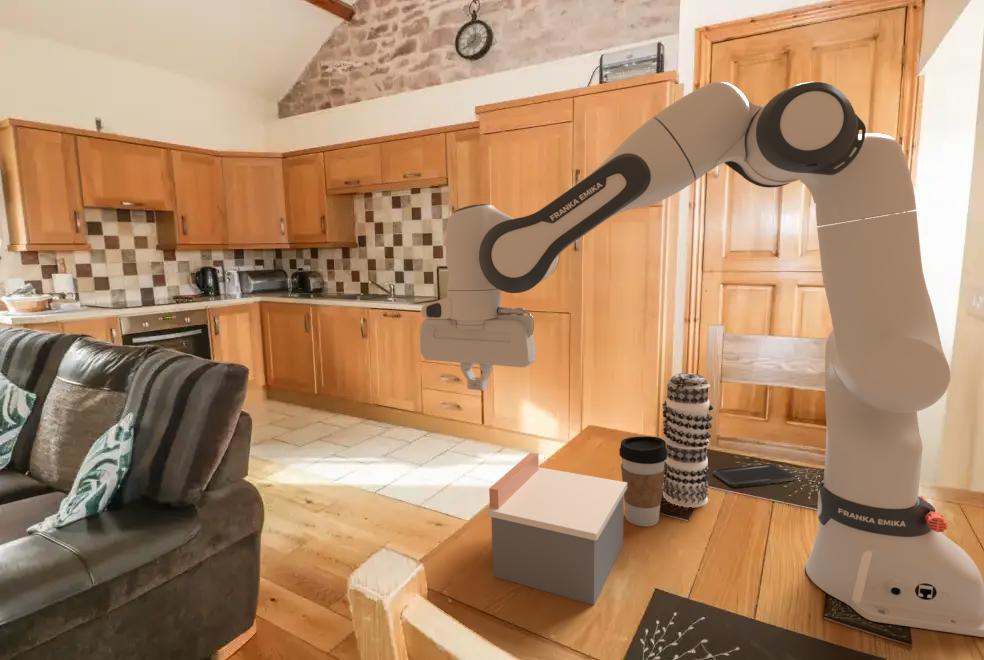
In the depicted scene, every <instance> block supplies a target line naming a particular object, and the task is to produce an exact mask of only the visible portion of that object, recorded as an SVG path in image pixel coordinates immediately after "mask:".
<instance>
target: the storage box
mask: <svg viewBox="0 0 984 660" xmlns="http://www.w3.org/2000/svg"><path fill="white" fill-rule="evenodd" d="M490 518H491V544H492V547H491V550H492V575H493V576H492V577H493V578H498V579H500V580H505V581H507V582H508V581H509V582H511V583H514V584H519V585H523V586H524V587H525V586H526V587H528V588H532V589H537V590H540V591H543V592H546V593H550V594H554V595H558V596H560V597H565V598H568V599H571V600H575V601H579V602H581V603H584V604H585V603H586V604H589V605H593V606H595V604H596V602H597V600H598V598H599V596H600V594H601V592H602V590H603V588H604V586H605V584H606V581H607V579H608V577H609V575H610V573H611V571H612V569H613V567H614V565H615V563H616V561H617V558H618V557H619V555H620V553H621V550H622V548H623V547H624V495H623V496H622V498H621V500H620V502H619V503H618V505H617V507H616V508H615V510H614V512H613V514H612V515H611V517H610V519H609V520H608V522H607V524H606V526H605V527H604V529H603V531H602V532H601V534H600V536H599V538H598V539H597V541H595V540H591V539H586V538H582V537H577V536H573V535H569V534H564V533H560V532H555V531H551V530H547V529H542V528H538V527H533V526H529V525H525V524H520V523H516V522H511V521H507V520H503V519H498V518H494V517H490Z"/></svg>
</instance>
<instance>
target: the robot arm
mask: <svg viewBox="0 0 984 660" xmlns="http://www.w3.org/2000/svg"><path fill="white" fill-rule="evenodd" d="M860 131H861V134H860ZM722 164H725V166H728V167H729V168H730V169H732V170H733V171H735V172H736V173H737V174H739V175H740V176H741V177H742V178H743V179H745V180H746V181H748V182H749V183H751V184H753V185H755V186H757V187H760V188H761V187H762V188H771V189H773V188H779V187H784V186H786V185H789V184H792V183H794V182H797V181H800V183H802V184H804V185H805V187H806V188H807V189H808V191H809V192H810V194H811V196H812V199H813V203H814V204H815V218H816V219H815V220H816V226H817V227H816V232H817V238H818V239H817V240H818V246H819V255H820V256H819V258H820V265H821V276H822V282H823V283H822V284H823V286H824V291H825V294H826V299H827V304H828V309H829V313H830V318H831V319H830V320H831V324H832V331H830V333H829V335H828V337H827V340H826V342H825V352H824V355H825V356H824V361H825V363H824V366H825V367H824V376H825V378H824V381H825V382H824V391H825V392H824V393H825V394H824V396H825V397H824V398H825V420H826V435H825V436H826V437H825V438H826V439H825V457H824V472H823V479H822V480H821V481H820V483H819V490H818V494H817V513H816V514H817V517H818V525H817V531H816V535H815V539H814V542H813V547H812V549H811V551H810V554H809V557H808V559H807V560H806V562H805V567H804V569H805V571H806V574H807V576H808V578H809V579H810V580H811V581H812V582H813V583H814V585H816V587H819V588H820V590H822V591H824V592H825V593H826V594H828V595H829V596H832V597H833V598H836V599H837V600H839V601H841V602H843V603H845V605H847V606H850V608H851V609H853V610H854V611H855V612H856V613H857V614H859V615H860V616H861V617H863V618H864V619H866V620H869V621H871V622H877V623H882V624H887V625H889V624H890V625H896V626H902V627H903V626H905V627H910V628H916V629H917V628H918V629H924V630H932V631H938V632H946V633H952V634H958V635H967V636H973V637H981V638H984V581H983V577H982V575H981V574H982V573H981V572H980V570H979V568H978V566H977V565H976V563H975V562H974V559H973V558H972V557H970V555H969V554H968V553H967V552H966V551H965V550H964V549H963V548H962V547H960V546H959V545H958V544H956V543H955V542H954V541H953V540H952V539H950V538H949V537H947V536H946V535H944V534H943V532H945V531H947V529H948V522H947V521H946V520H945V518H944V516H943V515H942V514H941V513H939V512H936V508H935V507H934V506H933V505H932V504H931V503H929V502H928V501H927V499H926V498H925V497H924V496H923V495H920V496H919V492H920V491H919V489H920V478H921V468H922V459H923V458H922V457H923V442H922V438H921V433H920V427H919V421H918V420H919V419H918V412H920V411H923V410H925V409H927V408H930V407H931V406H933V405H934V404H936V403H937V402H938V401H939V400H940V399H942V397H943V396H944V395H945V393H946V392H947V390H948V388H949V385H950V381H951V368H950V365H949V363H948V360H947V358H946V354H945V353H944V349H943V346H942V341H941V337H940V333H939V328H938V323H937V319H936V315H935V312H934V309H933V305H932V301H931V298H930V294H929V290H928V288H927V287H928V286H927V284H926V281H925V274H924V271H923V270H924V269H923V264H922V254H921V245H920V243H921V242H920V235H919V233H920V232H919V227H918V226H919V224H918V223H919V222H918V215H917V214H918V213H917V204H916V196H915V191H914V184H913V181H912V177H911V173H910V169H909V166H908V163H907V160H906V156H905V153H904V151H903V149H902V146H901V144H900V143H899V142H898V140H896V138H894V137H892V136H890V135H887V134H884V133H883V134H882V133H877V132H876V133H875V132H874V133H872V132H871V133H870V132H868V133H867V129H866V125H865V123H864V121H863V120H862V119H861V118H860V117H859V116H858V115H857V114H856V112H855V110H854V107H853V105H852V102H851V101H850V100H849V99H848V97H847V96H846V95H845V94H844V93H843V92H842V91H841V90H840V89H839V88H837V87H835V86H834V85H832V84H831V83H830V84H829V83H826V82H821V81H809V82H803V83H799V84H794V85H793V86H789V87H788V88H785V89H783V90H782V91H780V92H778V93H777V94H776V95H775V96H774V97H772V98H771V99H770V100H769V101H768V102H767V103H766V104H765V105H764V106H762V105H757V104H754V103H752V102H751V101H749V100H748V98H746V96H745V94H744V93H743V92H742V91H741V90H740V89H739V88H738V87H736V86H734V85H733V84H732V83H729V82H726V81H713V82H711V83H707V84H705V85H704V86H702V87H699V88H697V89H696V90H694V91H691V92H690V93H688V94H687V95H684V96H683V97H681V98H680V99H678V100H676V101H674V102H672V103H671V104H670V105H668V106H667V107H665V108H664V109H662V110H661V111H659V112H658V113H657V114H655V115H654V116H652V117H651V118H650V119H648V120H647V121H646V122H645V123H643V124H642V125H640V127H638V128H637V129H636V130H635V131H634V132H632V134H630V135H629V136H628V137H627V138H626V139H625V140H623V142H622V143H620V145H618V147H617V148H616V149H615V150H614V151H613V152H612V153H610V155H609V156H608V157H607V158H606V159H605V160H604V161H603V162H602V163H601V164H600V165H599V166H598V167H597V168H596V169H595V170H594V171H593V172H591V173H590V174H589V175H588V176H586V177H585V178H583V179H582V180H581V181H580V182H578V183H576V184H575V185H574V186H572V187H571V188H570V189H568V190H567V191H565V192H564V193H563V194H561V195H560V196H558V197H557V198H555V199H554V200H553V201H551V202H550V203H548V204H546V205H545V206H543V207H542V208H541V209H539V210H538V211H535V212H534V213H532V214H529V215H525V216H522V217H517V218H516V217H512V216H511V215H509V214H507V213H505V212H502V211H501V210H500V209H498V208H497V207H496V206H495V205H493V204H490V203H480V204H472V205H467V206H464V207H461V208H458V209H456V210H454V211H453V212H452V213H451V214H450V215H449V217H448V219H447V223H446V230H445V231H446V232H445V264H446V267H447V270H448V283H447V286H446V294H447V296H446V297H443V298H441V299H438V300H436V301H432V302H430V303H427V304H424V305H423V306H422V307H421V308H420V309H421V316H422V317H423V319H424V320H422V322H421V324H420V329H419V330H420V331H419V332H420V333H419V334H420V335H419V344H420V345H419V347H420V350H419V351H420V355H422V357H423V358H424V360H427V361H437V362H449V363H451V362H453V363H460V364H459V366H460V370H461V372H462V374H463V376H464V377H465V379H466V383H467V384H466V385H467V389H468V390H475V391H483V392H484V391H486V390H488V378H489V377H490V375H491V373H492V371H493V370H494V366H498V367H499V366H500V367H501V366H502V367H512V368H527V367H529V366H531V365H532V364H533V363H534V362H535V360H536V357H537V355H536V354H537V353H536V344H535V338H534V329H535V319H534V316H533V314H531V313H530V311H528V310H526V309H525V308H523V307H516V308H512V307H502V305H503V304H502V301H503V300H502V292H505V293H506V294H507V293H510V294H520V293H524V292H527V291H530V290H532V289H533V288H534V287H536V286H537V285H538V284H540V283H542V282H544V281H546V280H547V279H548V278H549V277H551V275H553V273H554V272H555V271H556V268H557V267H558V264H559V260H560V254H561V252H563V251H565V249H566V248H568V247H569V246H571V245H572V244H574V243H575V242H577V241H578V240H579V239H581V238H582V237H584V236H585V235H587V234H588V233H589V232H591V231H593V230H594V229H595V228H597V227H598V226H600V225H601V224H602V223H604V222H605V221H607V220H609V219H610V218H612V217H614V216H616V215H618V214H620V213H623V212H626V211H629V210H633V209H638V208H645V207H650V206H652V205H655V204H657V203H660V202H662V201H664V200H666V199H667V198H669V197H671V196H675V194H677V193H679V192H681V191H682V190H684V189H686V188H687V187H688V186H690V185H691V184H693V183H695V182H696V181H697V180H699V179H700V178H701V177H703V176H704V175H706V174H708V173H709V172H710V171H712V170H713V169H715V168H716V167H718V166H720V165H722ZM475 365H479V370H480V371H482V373H481V375H480V377H478V376H477V377H476V375H475V373H474V370H473V369H472V368H473V367H475Z"/></svg>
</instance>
